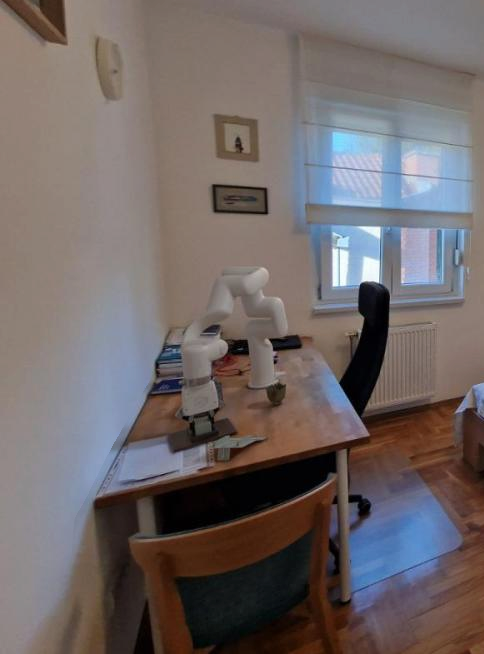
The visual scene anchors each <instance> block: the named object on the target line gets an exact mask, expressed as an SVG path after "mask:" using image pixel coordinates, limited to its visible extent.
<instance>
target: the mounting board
mask: <svg viewBox="0 0 484 654" xmlns="http://www.w3.org/2000/svg"><path fill="white" fill-rule="evenodd" d="M214 423H215V424H213V428H211V429H212V431H211V432H208V433H204V434H201V435H197V436H196V434H195V433H193V431H192V430H191V431H190V427H189V426H187V427H186V428H185V429H183V430H179V431H174V432H172V433H168V439H169V443H170V445H171V448H172V453H174V454H175V453H178V452H181V451H185V450H188V449H192V448H196V447H198V446H200V445H201V446H202V445H205V444H208V443H211V442H212V443H213V442H214V441H217V440H219V439H221V438H223V437H225V436H230V437H231V436H235V435H237V434H238V432H237V430H236V428H235V427H234V425H233V423H232V422H231V421H230V419H229V418H228V417H226V418H221V419H219V420H218V419H217V420H216V421H215V420H214Z"/></svg>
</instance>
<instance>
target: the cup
mask: <svg viewBox="0 0 484 654" xmlns="http://www.w3.org/2000/svg"><path fill="white" fill-rule="evenodd" d="M265 391H266V396H267V399H268V401H269V402H271V404H272V406H275V407H277V406H280V405H282V403H283V400H284V399H285V397H286V394H287V384H286V383H284V384H283V383H282V382H278V383H276V384H274V385H272V384H271V386H270V385H269V387H268V386H267V387H266V388H265Z"/></svg>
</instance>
